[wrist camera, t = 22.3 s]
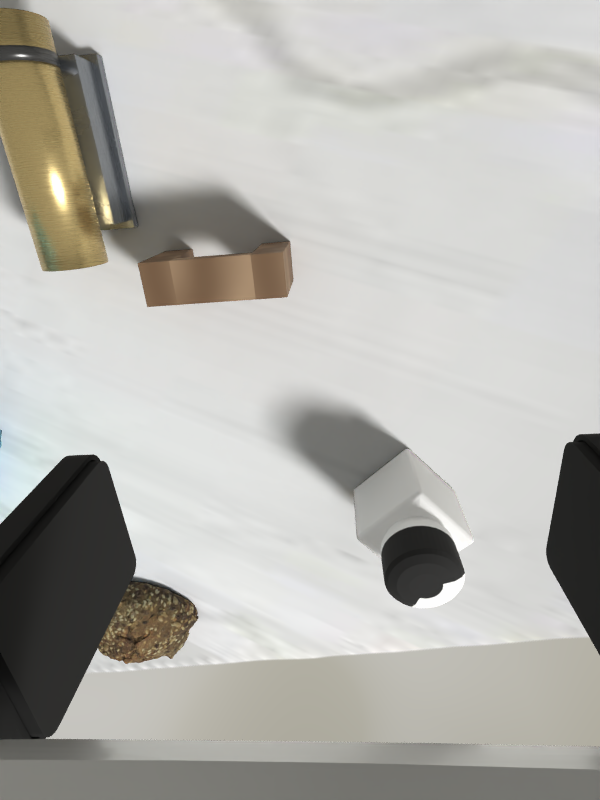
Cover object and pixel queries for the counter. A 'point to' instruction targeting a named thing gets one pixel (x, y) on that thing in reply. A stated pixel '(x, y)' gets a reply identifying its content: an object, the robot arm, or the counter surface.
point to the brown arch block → (217, 276)
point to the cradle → (98, 139)
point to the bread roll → (148, 624)
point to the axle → (45, 146)
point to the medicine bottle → (413, 531)
